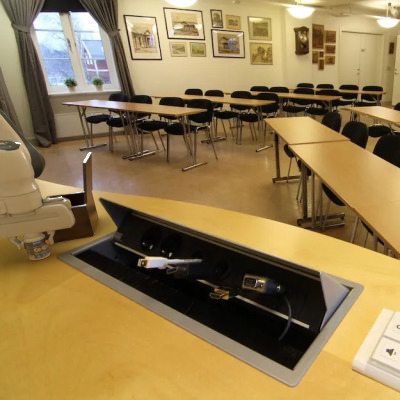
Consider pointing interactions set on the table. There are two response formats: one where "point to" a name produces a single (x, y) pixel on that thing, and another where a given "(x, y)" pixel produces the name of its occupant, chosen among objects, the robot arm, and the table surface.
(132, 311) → the table surface
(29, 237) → the pill bottle
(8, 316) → the table surface
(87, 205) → the case
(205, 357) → the table surface
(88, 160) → the lid
